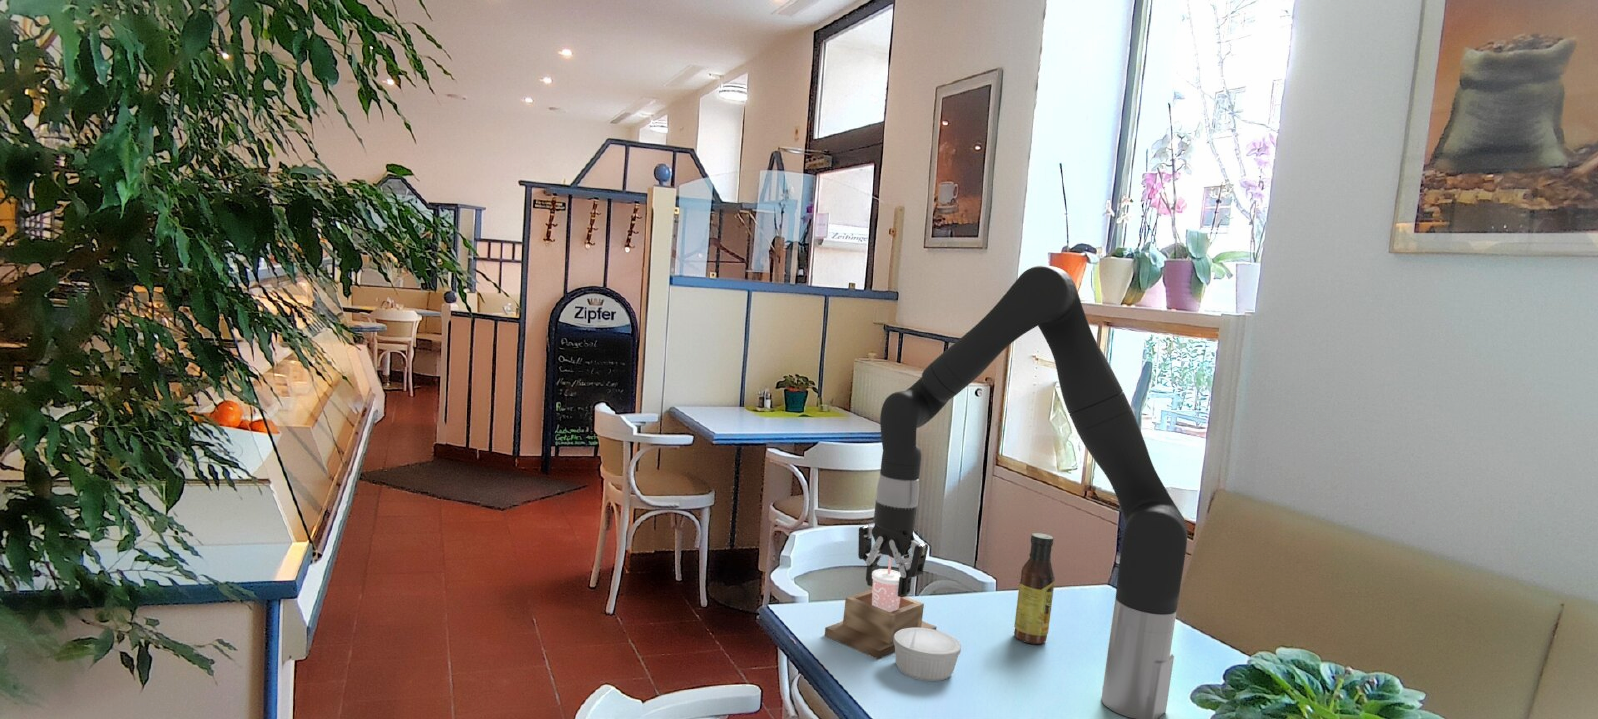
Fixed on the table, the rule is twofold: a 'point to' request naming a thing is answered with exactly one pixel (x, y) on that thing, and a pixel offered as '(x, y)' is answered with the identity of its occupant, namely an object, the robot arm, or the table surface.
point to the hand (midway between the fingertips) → (886, 590)
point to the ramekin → (926, 653)
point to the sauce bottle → (1035, 592)
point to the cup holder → (875, 624)
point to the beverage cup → (886, 588)
